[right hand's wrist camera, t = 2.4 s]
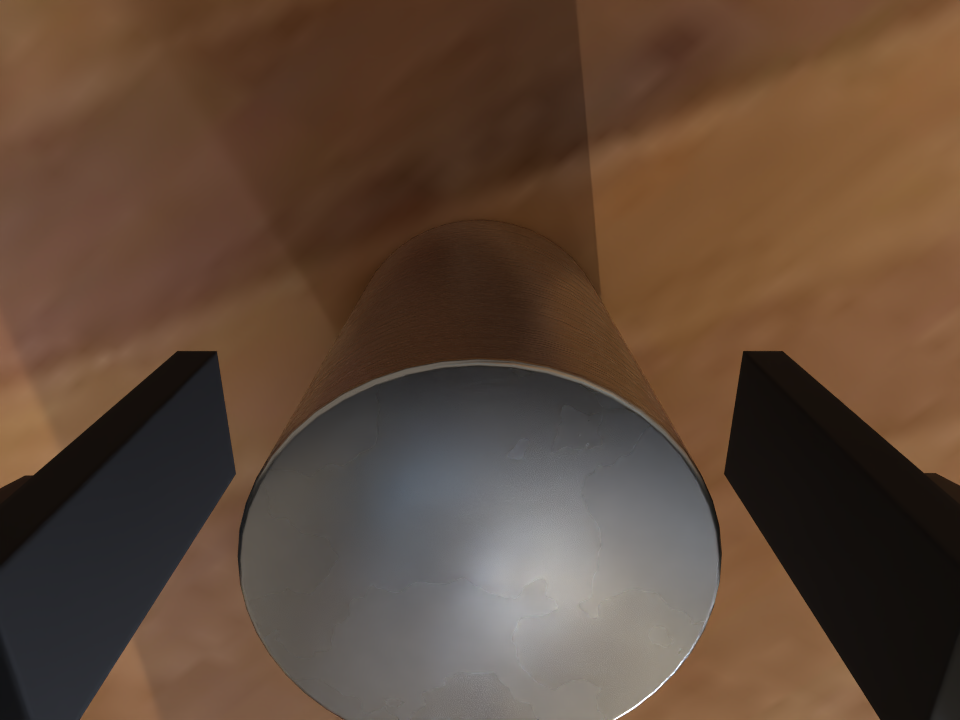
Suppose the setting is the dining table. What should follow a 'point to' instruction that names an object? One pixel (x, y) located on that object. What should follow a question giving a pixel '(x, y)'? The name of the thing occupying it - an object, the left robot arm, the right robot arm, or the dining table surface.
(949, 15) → the dining table surface
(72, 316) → the dining table surface
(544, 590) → the can
